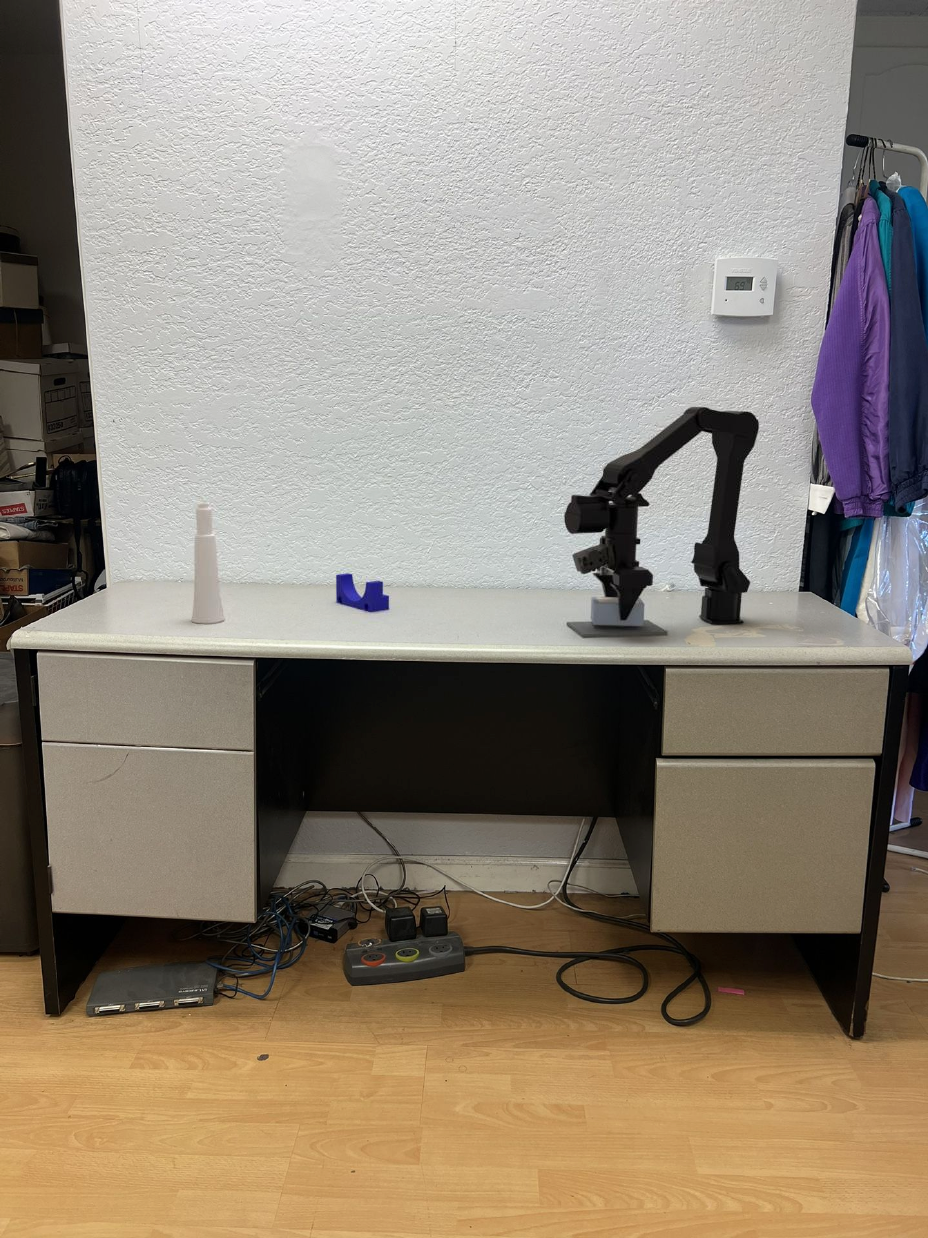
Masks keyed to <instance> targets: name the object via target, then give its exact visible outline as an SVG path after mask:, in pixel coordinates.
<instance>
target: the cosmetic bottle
mask: <svg viewBox="0 0 928 1238" xmlns="http://www.w3.org/2000/svg"><path fill="white" fill-rule="evenodd" d="M196 504H197V505H196V506H197V507H196V509H195V518H196V519H195V521H196V534H195V535H194V547H193V548H194V552H193V553H194V556H193V558H194V560H193V561H194V562H193V563H194V564H193V565H194V567H193V568H194V569H193V570H194V571H193V572H194V574H193V575H194V581H193V582H194V583H193V585H194V586H193V588H194V589H193V590H194V591H193V603H192V604H193V606H192V614H191V622H192V623H195V624H199V625H201V624H202V625H205V624H206V625H207V624H209V625H210V624H211V625H212V624H218V623H222V622H224V621H225V620H226V617H225V614H224V607H223V602H222V597H221V595H222V594H221V588H220V587H221V586H220V578H219V565H218V564H219V563H218V555H217V554H218V553H217V544H216V534H214V533H213V515H212V510H213V509H212V507H210V504H211V503H210V501H209V502H206V501H201V502H197V503H196Z"/></svg>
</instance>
